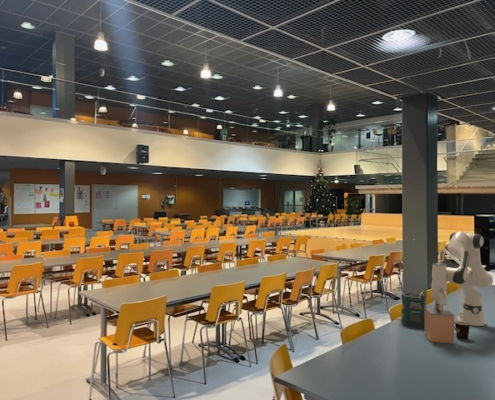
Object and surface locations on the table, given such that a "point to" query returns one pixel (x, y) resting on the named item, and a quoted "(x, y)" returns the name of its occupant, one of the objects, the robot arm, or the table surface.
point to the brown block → (439, 325)
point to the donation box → (414, 309)
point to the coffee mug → (462, 330)
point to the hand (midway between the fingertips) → (438, 308)
